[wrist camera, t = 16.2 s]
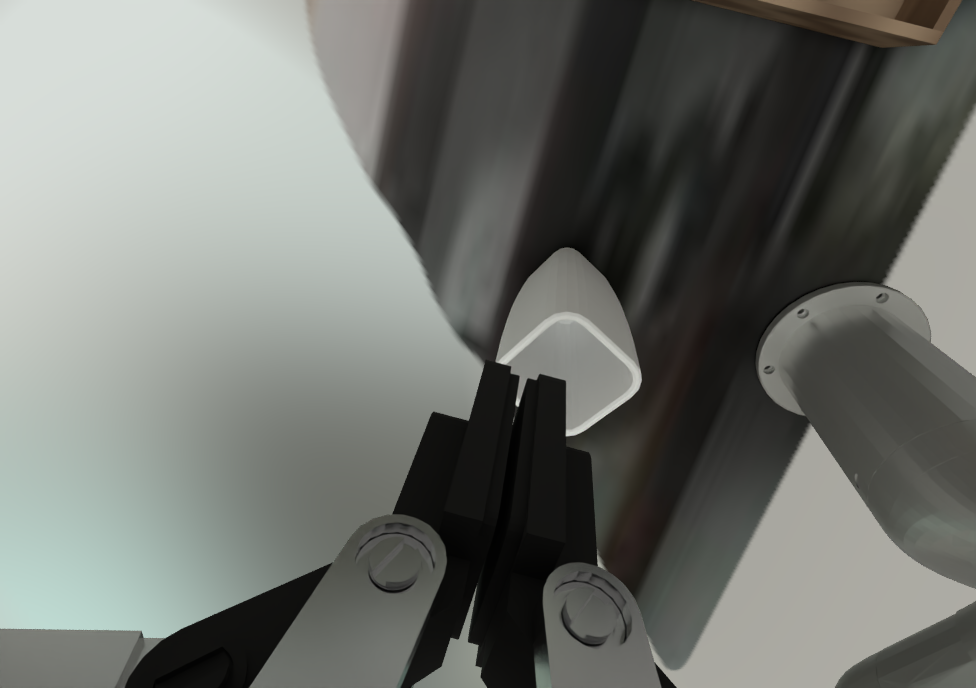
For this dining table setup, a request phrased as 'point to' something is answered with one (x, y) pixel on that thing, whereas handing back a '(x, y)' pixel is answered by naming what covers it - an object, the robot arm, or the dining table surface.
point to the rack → (857, 18)
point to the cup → (572, 338)
